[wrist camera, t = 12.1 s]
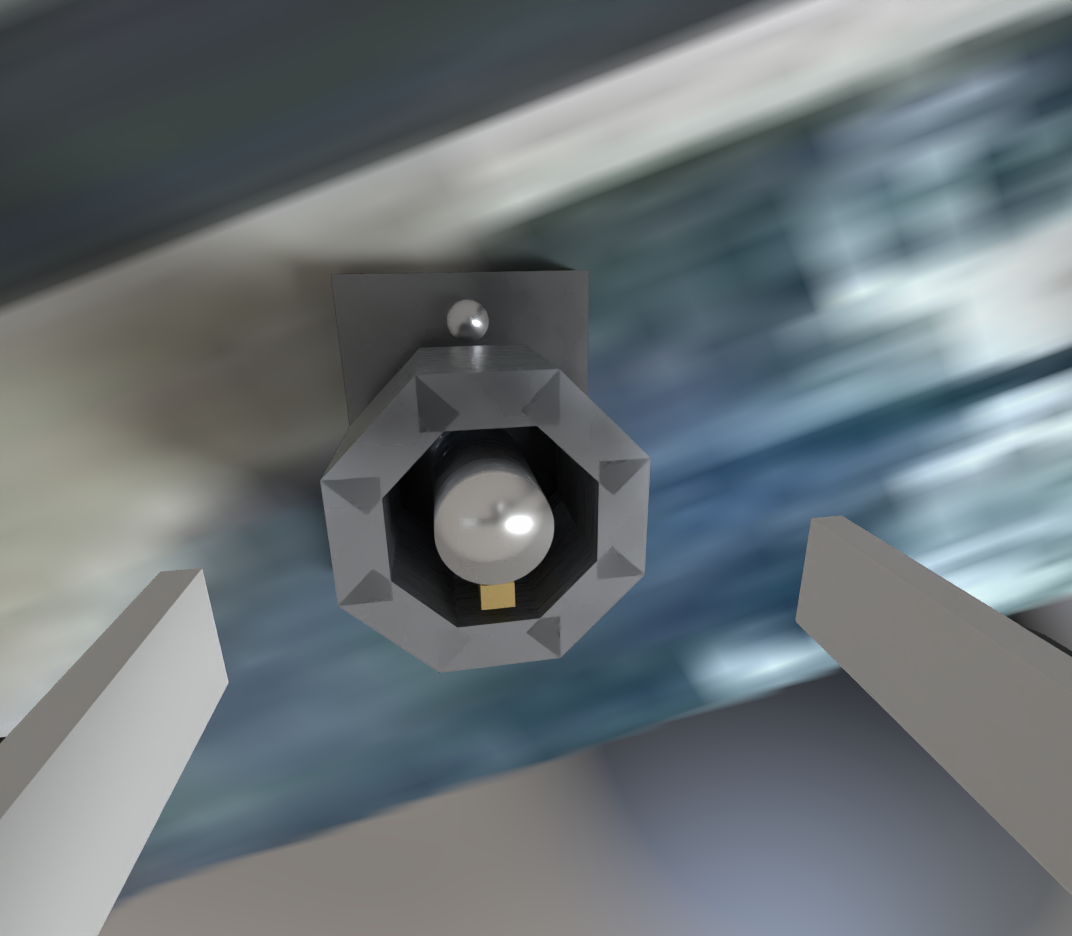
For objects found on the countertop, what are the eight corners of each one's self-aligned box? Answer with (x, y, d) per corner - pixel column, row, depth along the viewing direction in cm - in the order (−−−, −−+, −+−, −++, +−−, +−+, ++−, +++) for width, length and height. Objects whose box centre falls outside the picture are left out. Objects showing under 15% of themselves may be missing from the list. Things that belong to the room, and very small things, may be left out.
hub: (341, 350, 20) (305, 380, 14) (595, 341, 21) (655, 364, 16) (369, 582, 23) (349, 684, 17) (592, 561, 24) (641, 647, 18)
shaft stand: (338, 274, 24) (267, 272, 13) (577, 270, 25) (678, 266, 15) (374, 578, 28) (342, 753, 18) (575, 558, 30) (652, 709, 19)
